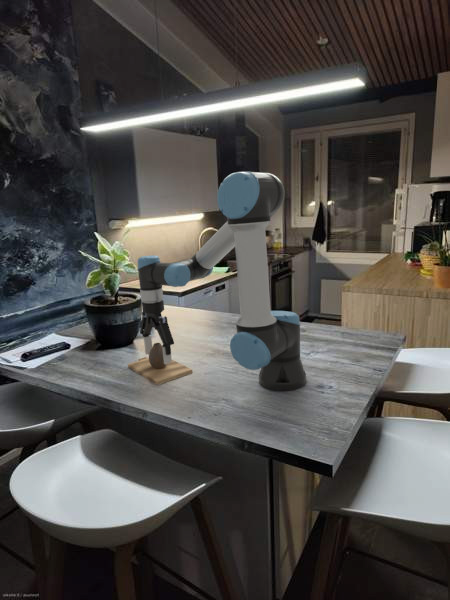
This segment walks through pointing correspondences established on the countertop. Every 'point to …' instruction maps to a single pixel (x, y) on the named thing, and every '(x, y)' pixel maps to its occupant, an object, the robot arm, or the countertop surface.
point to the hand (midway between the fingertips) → (158, 358)
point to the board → (159, 371)
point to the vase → (156, 356)
